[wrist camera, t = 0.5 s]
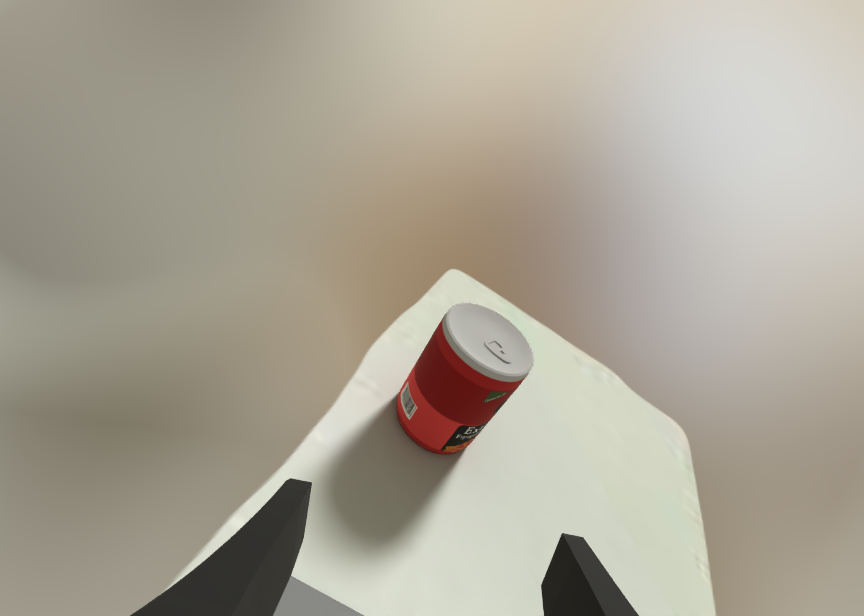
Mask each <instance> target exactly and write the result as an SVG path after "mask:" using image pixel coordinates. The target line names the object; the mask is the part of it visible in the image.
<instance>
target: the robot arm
mask: <svg viewBox="0 0 864 616" xmlns="http://www.w3.org/2000/svg"><path fill="white" fill-rule="evenodd" d="M311 486H312V483H311V482H306V481H301V480H296V479H291V478H290V479H288V480H287V481H285V483H284V484H283V485H282V486H281V487H280V489H279V490H278V491H277V492H276V493H275V494H274V495H273V496H272V498H271V499H270V500H269V501H268V502H267V503H266V504H265V505H264V506H263V507H262V508H261V509H260V510H259V511H258V512H257V513H256V514H255V515H254V516H253V517H252V518H251V519H250V520H249V521H248V522H247V523H246V524H245V525H244V526H243V527H242V528H241V529H240V530H239V531H238V532H237V533H236V534H235V535H233V536H232V537H231V538H230V539H229V540H228V541H227V542H226V543H224V544H223V545H222V546H221V547H220V548H219V549H218V550H216V551H215V552H214V553H213V554H212V555H211V556H210V557H208V558H207V559H206V560H205V561H204V562H202V563H201V564H200V565H199V566H198V567H196V568H195V569H194V570H193V571H191V572H190V573H189V574H188V575H186V576H185V577H184V578H182V579H181V580H180V581H178V582H177V583H176V584H174V585H173V586H172V587H171V588H169V589H168V590H166V591H165V592H164V593H162V594H161V595H159V596H158V597H156V598H155V599H154V600H152V601H151V602H149V603H148V604H147V605H145V606H144V607H142V608H141V609H139V610H138V611H136V612H135V613H133V614H132V615H130V616H273V614H274V612H275V610H276V608H277V606H278V603H279V601H280V599H281V597H282V595H283V592H284V590H285V588H286V586H287V583H288V581H289V579H290V577H291V574H292V571H293V568H294V565H295V562H296V559H297V556H298V553H299V550H300V547H301V544H302V541H303V538H304V532H305V525H306V519H307V512H308V505H309V499H310V492H311ZM541 588H542V599H543V610H544V616H639V615H638V614H637V612H636V611H635V610H634V608H633V607H632V606H631V604H630V603H629V602H628V600H627V599H626V598H625V596H624V595H623V593H622V592H621V591H620V589H619V588H618V586H617V585H616V584H615V582H614V581H613V579H612V578H611V576H610V575H609V574H608V572H607V571H606V569H605V568H604V566H603V565H602V564H601V562H600V561H599V559H598V558H597V556H596V555H595V554H594V552H593V551H592V549H591V548H590V546H589V545H588V544H587V542H586V541H585V539H584V538H583V537H579V536H574V535H569V534H564V533H562V535H561V537H560V540H559V542H558V545H557V547H556V550H555V552H554V555H553V557H552V560H551V562H550V565H549V567H548V570H547V572H546V575H545V577H544V580H543V582H542V585H541Z"/></svg>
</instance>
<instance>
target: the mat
mask: <svg viewBox="0 0 864 616" xmlns="http://www.w3.org/2000/svg"><path fill="white" fill-rule="evenodd" d="M273 616H364V615H362V614H360V613H358V612H356V611H355V610H353V609H351V608H349V607H347V606H345V605H344V604H342V603H340V602H338V601H336V600H334V599H333V598H331V597H329V596H327V595H325V594H323V593H322V592H320V591H318V590H316V589H314V588H312V587H311V586H309V585H307V584H305V583H303V582H301V581H300V580H298V579H296V578H294V577H292V576H291V577H290V579H289V581H288V583H287V586H286V588H285V590H284V592H283V595H282V597H281V599H280V601H279V603H278V606H277V608H276V610H275V612H274V614H273Z"/></svg>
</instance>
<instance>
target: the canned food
mask: <svg viewBox="0 0 864 616" xmlns="http://www.w3.org/2000/svg"><path fill="white" fill-rule="evenodd" d="M533 362H534V357H533V352H532V350H531V347H530V345H529V343H528V341H527V340H526V338H525V337H524V336H523V334H522V333H521V332H520V331H519V330H518V329H517V328H516V327H515V326H514V325H513V324H512V323H511V322H510V321H509V320H507V319H506V318H504V317H503V316H502V315H500V314H498V313H497V312H495V311H493V310H491V309H489V308H486V307H484V306H481V305H478V304H472V303H460V304H456V305H454V306H452V307H451V308H450V309H449V310H448V312H447V313H446V314H445V316H444V317H443V319H442V321H441V322H440V323H439V325H438V327H437V328H436V330H435V332H434V334H433V335H432V337H431V339H430V340H429V342H428V344H427V345H426V347H425V349H424V351H423V352H422V354H421V356H420V357H419V359H418V361H417V362H416V364H415V366H414V367H413V369H412V371H411V373H410V374H409V376H408V378H407V379H406V381H405V383H404V384H403V386H402V388H401V390H400V392H399V395H398V400H397V414H398V418H399V421H400V423H401V425H402V427H403V429H404V430H405V432H406V433H407V434H408V435H409V436H410V438H411V439H412V440H414V441H415V442H416V443H417V444H418V445H420V446H422V447H423V448H425V449H427V450H429V451H432V452H435V453H439V454H451V453H456V452H458V451H460V450H462V449H464V448H466V447H467V446H468V445H469V444H470V443H471V442H472V441H473V440H474V439H475V437H476V436H477V435H478V434H479V433H480V431H481V430H482V429H483V428H484V427H485V426H486V424H487V423H488V422H489V421H490V420H491V418H492V417H493V416H494V415H495V414H496V413H497V411H498V410H499V409H500V408H501V407H502V405H503V404H504V403H505V402H506V401H507V400H508V398H509V397H510V396H511V395H512V394H513V392H514V391H515V390H516V389H517V388H518V386H519V385H520V384H521V383H522V381H523V380H524V379H525V378H526V376H527V375H528V373H529V371H530V370H531V368H532V366H533Z"/></svg>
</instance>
